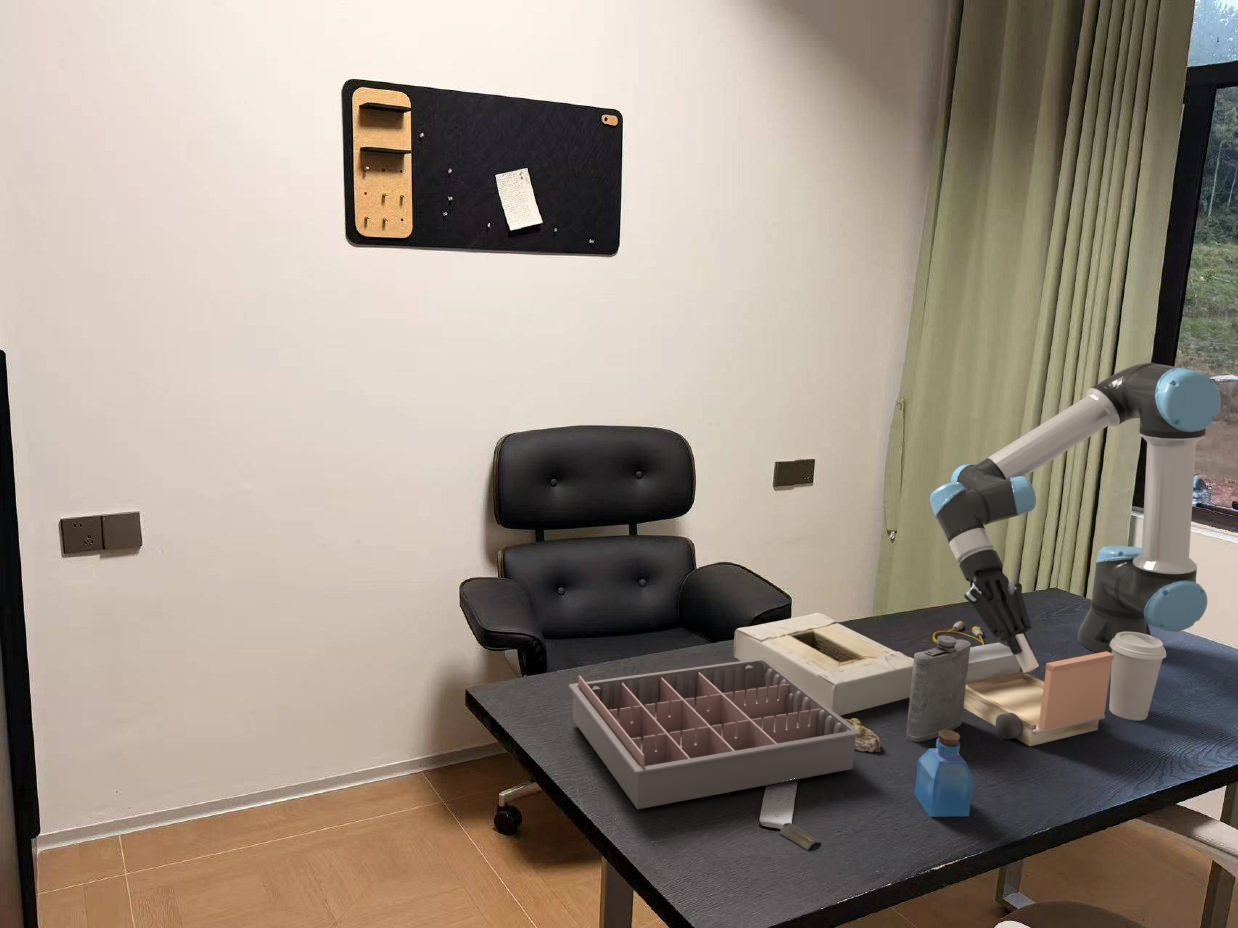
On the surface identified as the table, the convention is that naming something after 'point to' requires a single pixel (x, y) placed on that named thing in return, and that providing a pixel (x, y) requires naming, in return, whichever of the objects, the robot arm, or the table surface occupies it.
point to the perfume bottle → (944, 778)
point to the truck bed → (1009, 696)
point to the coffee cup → (1134, 673)
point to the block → (798, 836)
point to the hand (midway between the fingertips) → (1031, 669)
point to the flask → (938, 689)
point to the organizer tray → (709, 730)
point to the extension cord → (958, 626)
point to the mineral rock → (865, 737)
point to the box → (829, 661)
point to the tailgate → (1074, 691)
